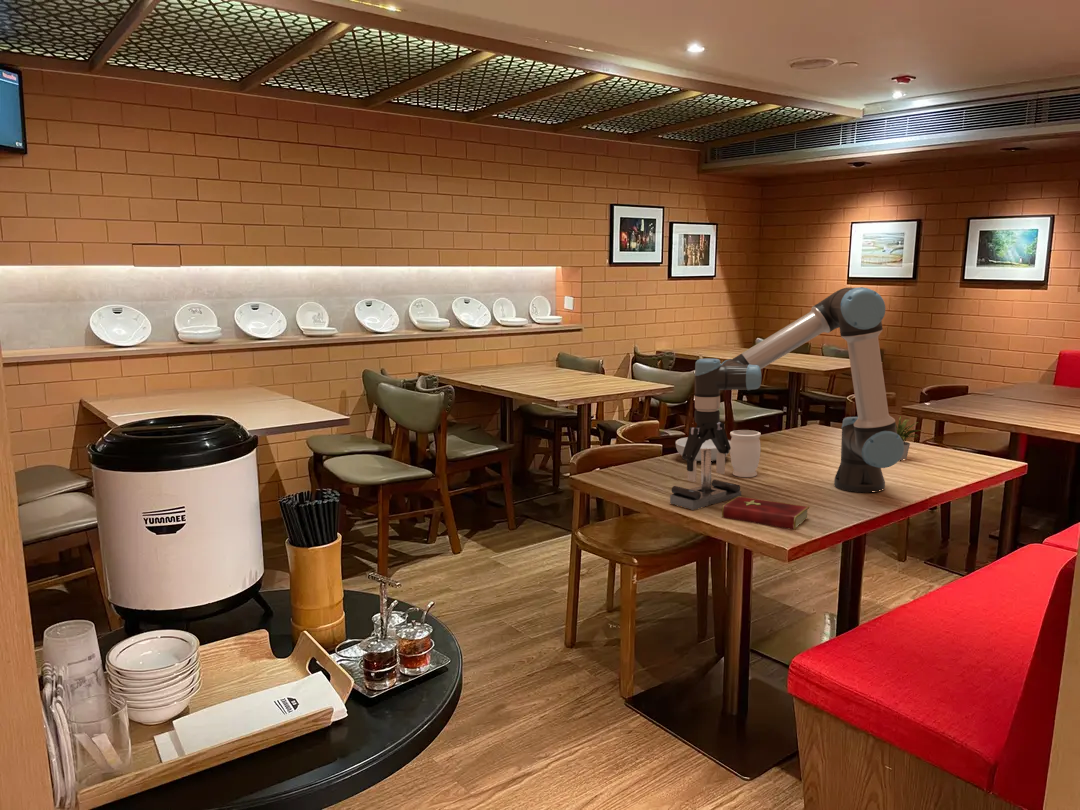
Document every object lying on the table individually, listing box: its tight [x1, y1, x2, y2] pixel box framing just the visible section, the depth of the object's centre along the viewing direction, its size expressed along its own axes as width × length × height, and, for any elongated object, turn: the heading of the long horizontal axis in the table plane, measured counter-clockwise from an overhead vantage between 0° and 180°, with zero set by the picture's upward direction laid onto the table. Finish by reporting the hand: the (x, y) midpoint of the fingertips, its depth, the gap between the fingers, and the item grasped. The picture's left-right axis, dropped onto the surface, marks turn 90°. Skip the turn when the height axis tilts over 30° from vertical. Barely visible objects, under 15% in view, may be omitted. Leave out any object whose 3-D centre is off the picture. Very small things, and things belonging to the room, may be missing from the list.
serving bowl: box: [675, 436, 731, 462], centre depth 290 cm, size 21×21×7 cm
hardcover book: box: [721, 495, 810, 530], centre depth 218 cm, size 12×21×4 cm, turn 53°
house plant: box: [896, 415, 924, 460], centre depth 281 cm, size 14×14×16 cm
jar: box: [729, 429, 762, 478], centre depth 265 cm, size 11×10×15 cm
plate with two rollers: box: [669, 479, 742, 511], centre depth 237 cm, size 9×23×5 cm, turn 128°
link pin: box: [700, 449, 712, 493], centre depth 236 cm, size 3×3×16 cm
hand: (706, 477), depth 236 cm, fingers open, 13 cm apart
